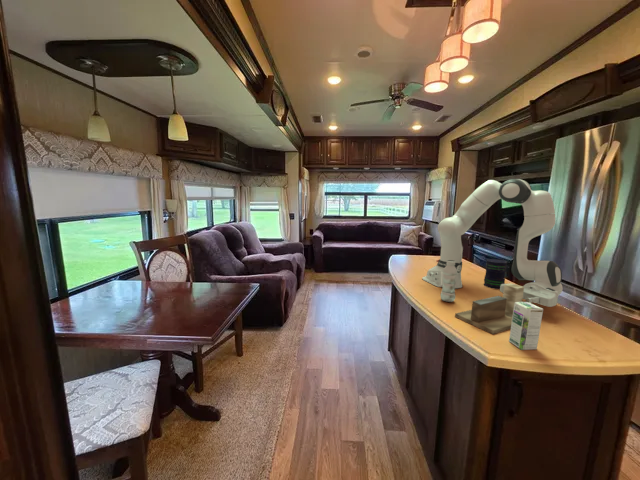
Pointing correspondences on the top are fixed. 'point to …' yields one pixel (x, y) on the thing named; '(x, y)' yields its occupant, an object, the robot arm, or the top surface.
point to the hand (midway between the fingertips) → (515, 296)
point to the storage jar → (495, 273)
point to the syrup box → (525, 325)
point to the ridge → (488, 315)
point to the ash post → (512, 297)
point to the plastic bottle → (449, 282)
